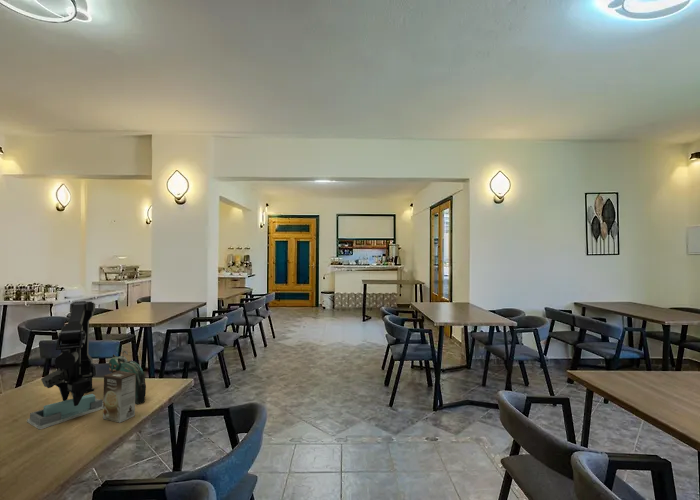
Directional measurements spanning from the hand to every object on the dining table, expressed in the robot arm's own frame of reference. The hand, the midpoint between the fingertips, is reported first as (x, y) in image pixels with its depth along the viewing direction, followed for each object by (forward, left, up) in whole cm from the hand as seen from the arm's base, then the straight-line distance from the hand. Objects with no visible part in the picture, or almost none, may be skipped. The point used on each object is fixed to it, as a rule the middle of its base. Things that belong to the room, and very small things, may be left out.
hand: (70, 403), depth 134 cm
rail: (0, 0, -3) cm, 3 cm away
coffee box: (-8, +19, -4) cm, 21 cm away
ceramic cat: (-19, +4, -4) cm, 20 cm away
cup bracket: (0, 0, -4) cm, 4 cm away
